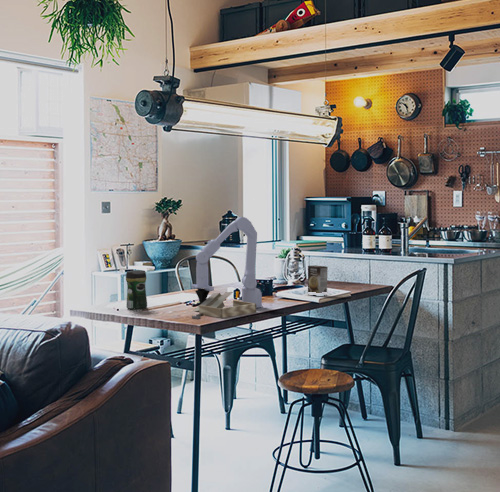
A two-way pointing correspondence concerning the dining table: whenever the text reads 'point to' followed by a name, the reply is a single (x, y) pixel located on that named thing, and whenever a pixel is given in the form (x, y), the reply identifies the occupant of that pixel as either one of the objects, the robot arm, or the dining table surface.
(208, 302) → the beige slanted rack
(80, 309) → the dining table surface
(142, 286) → the coffee jar
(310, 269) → the coffee box
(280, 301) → the dining table surface
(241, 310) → the bay
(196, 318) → the hook
